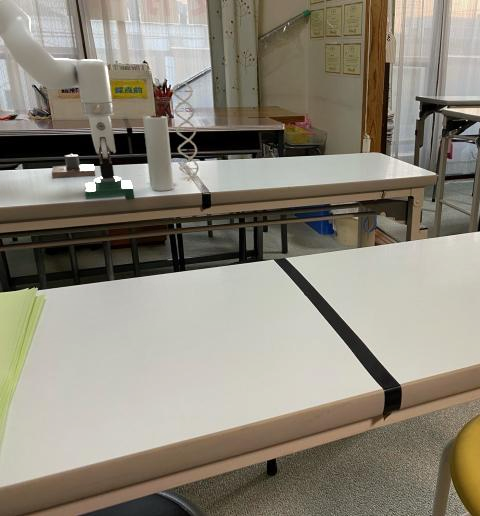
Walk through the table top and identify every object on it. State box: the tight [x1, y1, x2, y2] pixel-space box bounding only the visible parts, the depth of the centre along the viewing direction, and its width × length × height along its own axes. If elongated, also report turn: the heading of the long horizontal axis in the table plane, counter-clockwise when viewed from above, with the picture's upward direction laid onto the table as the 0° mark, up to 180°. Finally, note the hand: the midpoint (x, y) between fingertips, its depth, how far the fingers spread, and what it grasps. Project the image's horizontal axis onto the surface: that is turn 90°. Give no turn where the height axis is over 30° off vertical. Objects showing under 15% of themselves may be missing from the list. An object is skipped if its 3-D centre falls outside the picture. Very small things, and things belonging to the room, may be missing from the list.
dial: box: [64, 153, 81, 169], centre depth 165 cm, size 4×4×4 cm
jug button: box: [99, 176, 116, 181], centre depth 144 cm, size 4×4×2 cm
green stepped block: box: [84, 176, 135, 201], centre depth 144 cm, size 12×10×5 cm
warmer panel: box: [51, 163, 96, 179], centre depth 166 cm, size 12×10×3 cm
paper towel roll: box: [142, 115, 175, 192], centre depth 152 cm, size 7×6×21 cm
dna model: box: [171, 82, 200, 182], centre depth 164 cm, size 7×6×30 cm
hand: (107, 177), depth 143 cm, fingers closed
